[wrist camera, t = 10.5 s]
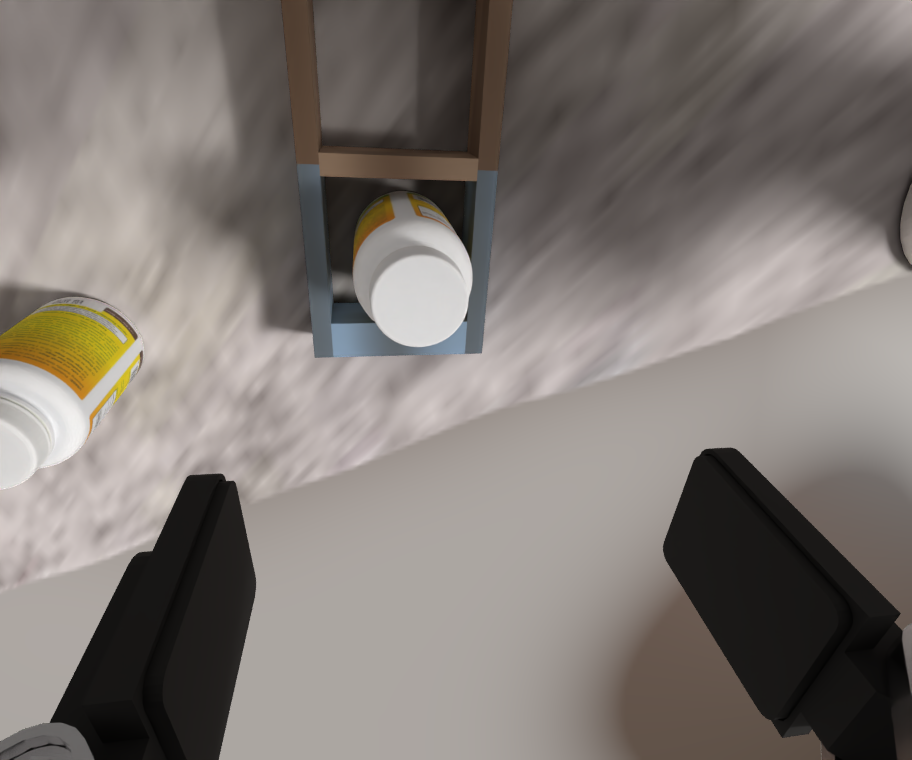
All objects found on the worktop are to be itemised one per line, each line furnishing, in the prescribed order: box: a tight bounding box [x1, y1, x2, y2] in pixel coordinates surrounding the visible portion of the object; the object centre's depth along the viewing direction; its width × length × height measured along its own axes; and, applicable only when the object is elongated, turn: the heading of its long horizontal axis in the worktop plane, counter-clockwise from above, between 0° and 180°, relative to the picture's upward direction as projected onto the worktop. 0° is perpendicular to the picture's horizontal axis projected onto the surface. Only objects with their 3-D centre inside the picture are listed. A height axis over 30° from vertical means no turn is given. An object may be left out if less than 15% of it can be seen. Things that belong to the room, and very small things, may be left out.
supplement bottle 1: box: [0, 297, 144, 490], centre depth 24 cm, size 6×6×10 cm
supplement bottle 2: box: [353, 191, 473, 347], centre depth 24 cm, size 5×5×10 cm
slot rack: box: [281, 0, 513, 358], centre depth 25 cm, size 9×20×3 cm, turn 177°
